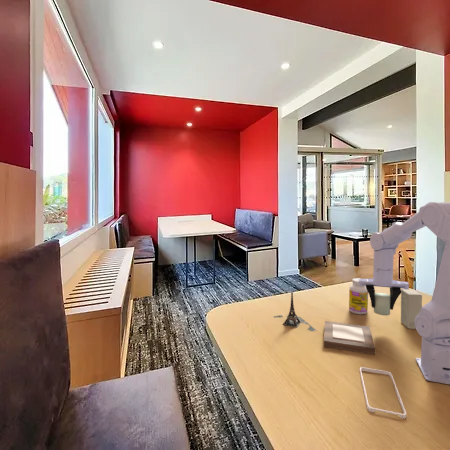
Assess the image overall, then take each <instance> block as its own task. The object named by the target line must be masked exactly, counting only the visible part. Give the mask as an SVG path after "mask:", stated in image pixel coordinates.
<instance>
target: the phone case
mask: <svg viewBox="0 0 450 450" xmlns="http://www.w3.org/2000/svg"><path fill="white" fill-rule="evenodd" d="M362 371H363V372H370V373H374V374H381V375H388V377H389V378H390V379H391V381H392V383H393V386H394V391H395V393H396V396H397V399H398V401H399V405H400V407H401V409H402V412H403V413H401V412H397V411H393V410H387V409H386V410H385V409H382V408H381V409H380V408H376V407H372V406H371V405H370V404H369V401H368V395H367V389H366V386H365V381H364V376H363V373H362ZM359 376H360V379H361V384H362V389H363V394H364V395H363V396H364V399H365V403H366V408H367V410H368V412H369V413H374V412H375V411H377V412H381V413H382V412H383V413H386V414H391V415H396V416H399V418H400V419H403V418H404V419H403V420H406V419H407V411H406V408H405V406H404V403H403V400H402V398H401V394H400V393H399V390H398V387H397V384H396V382H395V379H394V377H393V374H392V372H391V371H387V370H383V369H382V370H381V369H375V368H370V367H365V366H361V367H359ZM405 418H406V419H405Z"/></svg>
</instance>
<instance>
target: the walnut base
mask: <svg viewBox="0 0 450 450" xmlns="http://www.w3.org/2000/svg"><path fill="white" fill-rule="evenodd" d="M323 333H324V335H323V348H331V349H336V350H341V351H347V352H348V351H349V352H354V353H361V354H367V355H373V356H375V355H376V346H375V341H374V338H373V335H372V331H371V327H370V326H367V325H361V324H360V325H359V324H353V323H345V322H336V321H329V320H328V321H327V320H324V332H323Z"/></svg>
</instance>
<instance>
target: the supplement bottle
mask: <svg viewBox="0 0 450 450" xmlns="http://www.w3.org/2000/svg"><path fill="white" fill-rule="evenodd" d="M359 279H361V278H360V277H358V278H357V277H356V278H355V277H354V278H352V281H351V282H352V284H351V285H349V290H348V291H349V294H348V295H349V296H348V297H349V299H348V310H349V312H351V313H353V314H356V315H365V314H367V313H368V308H369V306H368V305H369V293H368V291H367V289H366V286H365V285H362V286H359V284H358V283H359Z"/></svg>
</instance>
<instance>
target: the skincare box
mask: <svg viewBox="0 0 450 450" xmlns="http://www.w3.org/2000/svg"><path fill="white" fill-rule="evenodd" d="M421 307H423V294H422V293H421V292H419V291H418V290H416V289H414V288H409V290H407V289H402V288H401V294H400V322H401V323H402V325H404V326H405V328H407V329H411V330H412V329H413V330H416V327H415V317H416V316H417V315H418V314H419V313H420V310H421Z"/></svg>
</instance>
